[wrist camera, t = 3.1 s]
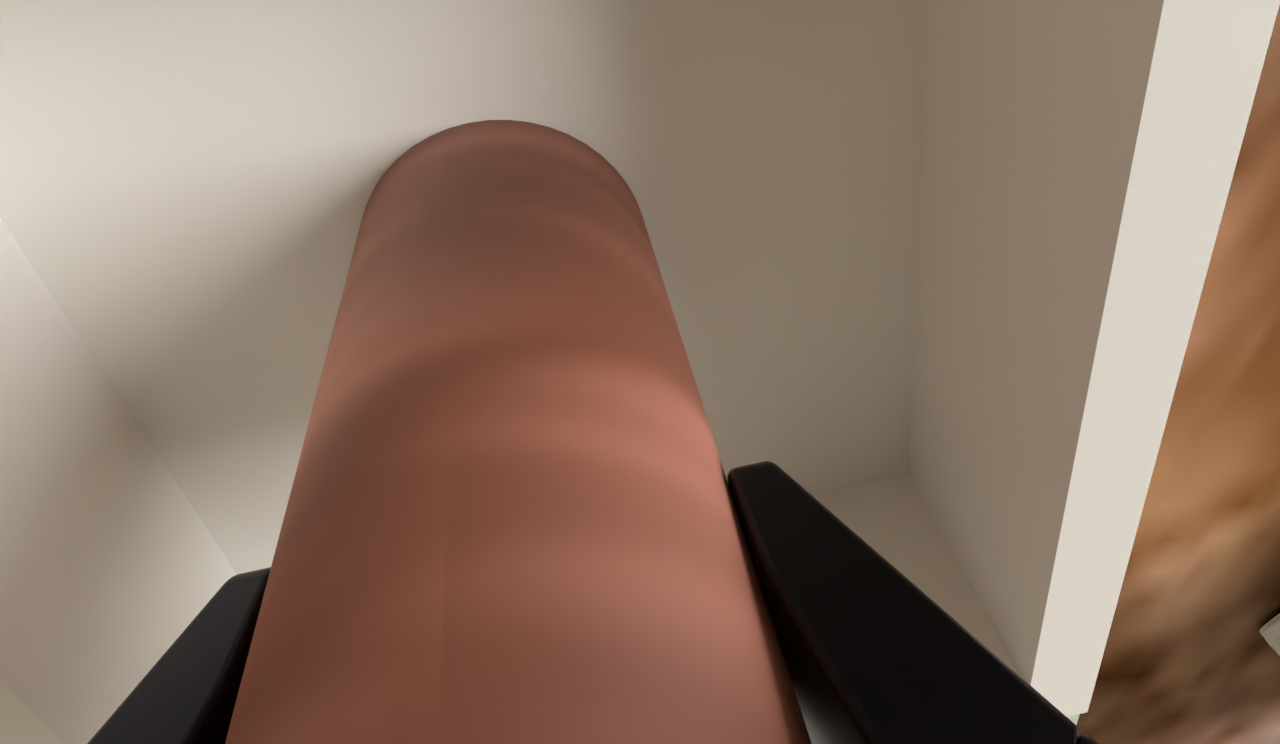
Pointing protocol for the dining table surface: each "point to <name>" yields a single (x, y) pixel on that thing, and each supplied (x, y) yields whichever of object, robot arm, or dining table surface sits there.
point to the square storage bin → (685, 252)
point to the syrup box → (1272, 633)
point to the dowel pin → (510, 484)
